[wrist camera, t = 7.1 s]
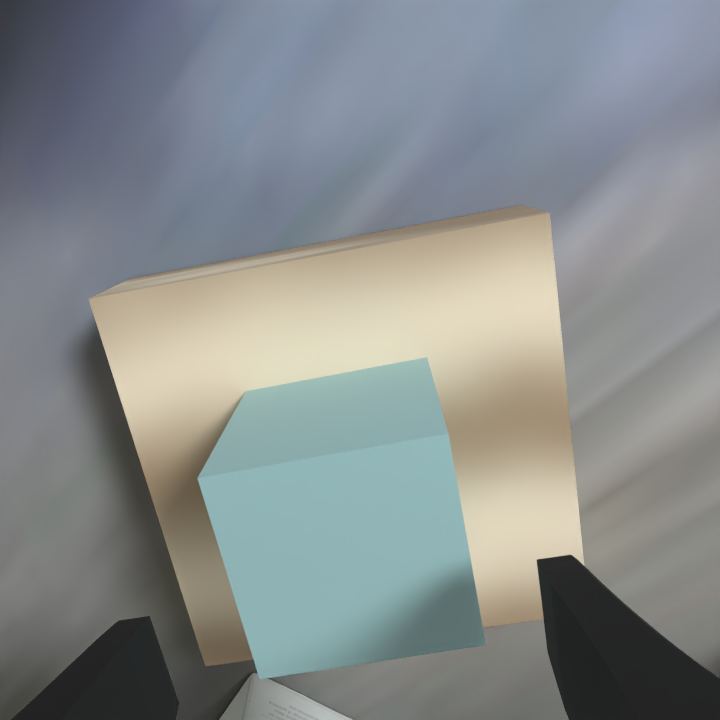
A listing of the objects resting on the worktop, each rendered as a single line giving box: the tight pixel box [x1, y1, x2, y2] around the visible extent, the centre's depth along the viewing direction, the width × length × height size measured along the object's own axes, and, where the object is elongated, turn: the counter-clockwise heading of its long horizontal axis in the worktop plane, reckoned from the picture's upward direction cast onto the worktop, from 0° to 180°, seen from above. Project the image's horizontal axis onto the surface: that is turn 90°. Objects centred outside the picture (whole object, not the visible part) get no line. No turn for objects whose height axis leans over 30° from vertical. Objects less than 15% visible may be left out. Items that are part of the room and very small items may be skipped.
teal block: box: [198, 357, 486, 679], centre depth 15 cm, size 5×5×5 cm
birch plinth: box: [89, 205, 584, 667], centre depth 19 cm, size 12×12×3 cm
